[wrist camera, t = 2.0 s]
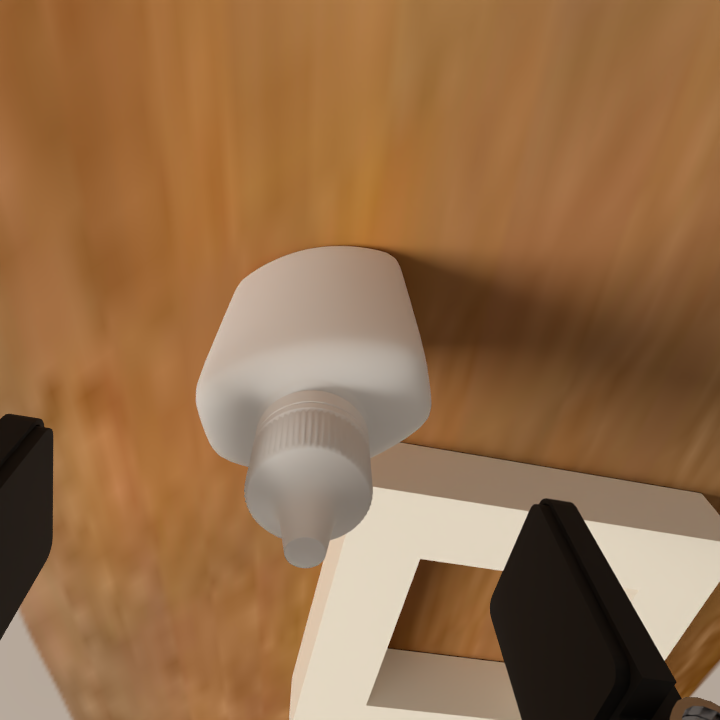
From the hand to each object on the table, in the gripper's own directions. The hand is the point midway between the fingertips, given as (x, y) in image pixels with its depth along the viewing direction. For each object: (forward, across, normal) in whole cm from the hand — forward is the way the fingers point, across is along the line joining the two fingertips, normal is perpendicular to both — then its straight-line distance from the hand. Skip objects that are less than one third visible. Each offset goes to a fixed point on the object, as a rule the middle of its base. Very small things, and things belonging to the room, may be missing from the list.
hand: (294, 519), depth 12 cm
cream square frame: (+11, -10, +12) cm, 19 cm away
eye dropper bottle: (+11, 0, -1) cm, 11 cm away
